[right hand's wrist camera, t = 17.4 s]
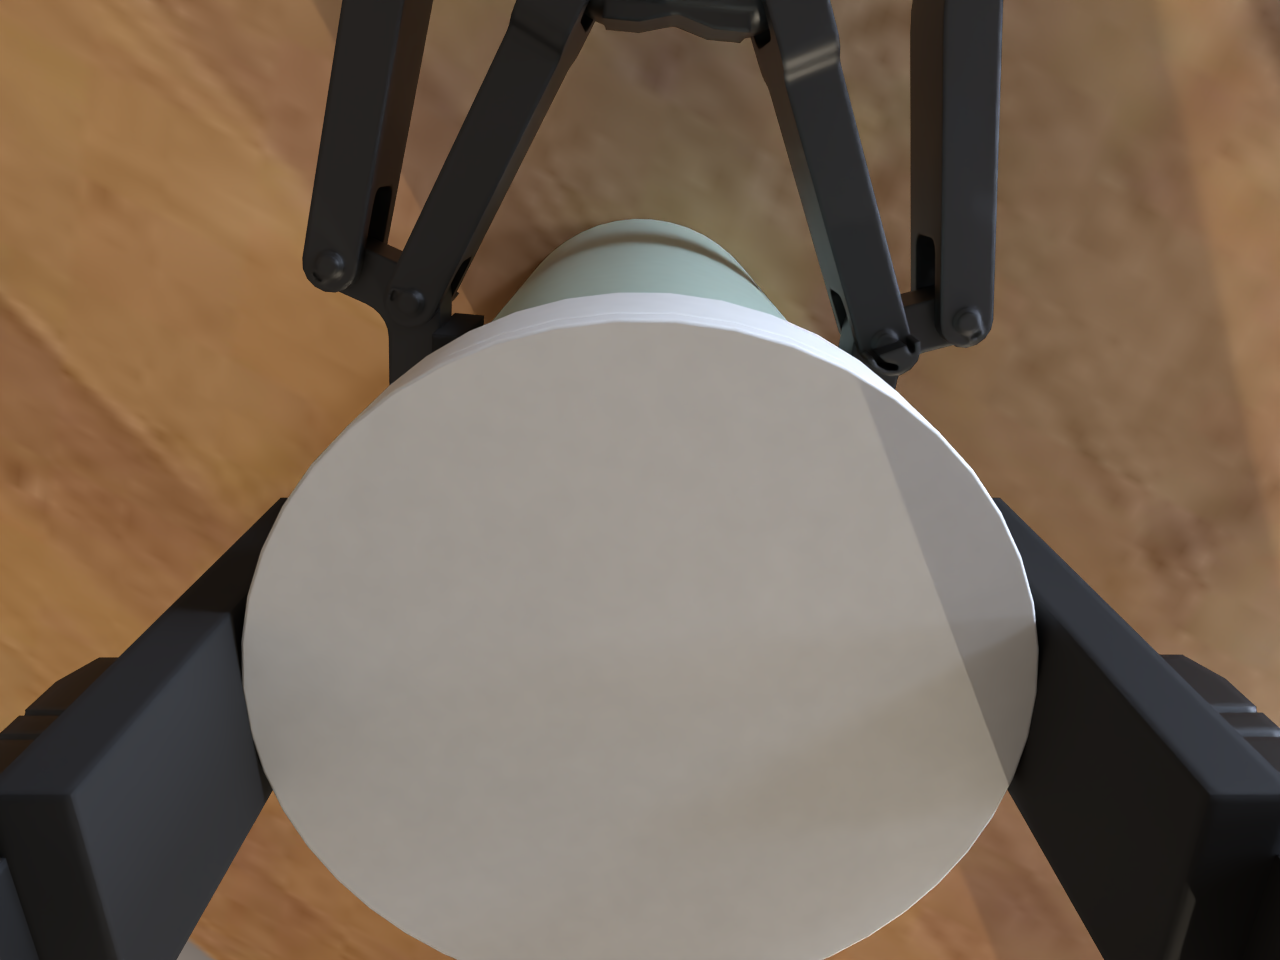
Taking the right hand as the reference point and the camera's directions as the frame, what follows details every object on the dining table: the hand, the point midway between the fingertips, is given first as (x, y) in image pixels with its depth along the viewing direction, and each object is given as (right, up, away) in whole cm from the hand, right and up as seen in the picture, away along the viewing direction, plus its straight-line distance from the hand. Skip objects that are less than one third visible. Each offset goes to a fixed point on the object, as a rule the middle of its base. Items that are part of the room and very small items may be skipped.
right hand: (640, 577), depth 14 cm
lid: (0, -1, -3) cm, 3 cm away
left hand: (0, -1, +10) cm, 10 cm away
